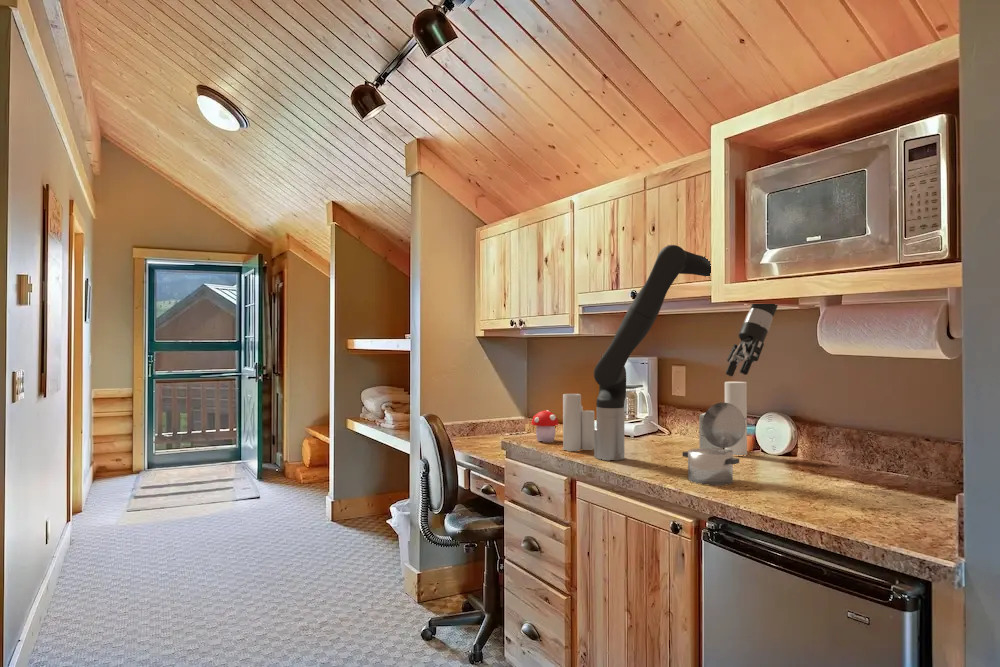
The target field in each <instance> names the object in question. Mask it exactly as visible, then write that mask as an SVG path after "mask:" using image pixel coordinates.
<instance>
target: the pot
mask: <svg viewBox="0 0 1000 667" xmlns="http://www.w3.org/2000/svg"><path fill="white" fill-rule="evenodd" d="M682 457H685V458H687V480H688V479H689V480H690V481H689V480H688V481H689V482H691V481H692V482H691V483H694V482H696V483H695V484H698V483H702V484H701V485H704V484H709V485H708V486H726V485H725V484H728V485H731V484H733V483H734V480H733V479H734V473H733V472H734V468H733V465H737V464H740V458H739V457H738V458H737V457H734V456H733V453H732V450H726V449H725V448H724V449H719V448H715V449H700V448H693V449H689V450H686V451H683V452H682ZM732 482H733V483H732ZM730 483H731V484H730Z"/></svg>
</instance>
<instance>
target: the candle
mask: <svg viewBox="0 0 1000 667" xmlns="http://www.w3.org/2000/svg"><path fill="white" fill-rule="evenodd" d="M594 429H596V428H595V411H594V410H584V406H583V405H582V394H580V393H564V394H562V450H563V451H564V450H567V451H566V452H571V451H575V452H579V451H578V450H581V449H583V450H593V449H594ZM583 450H581V451H583ZM593 451H594V450H593Z"/></svg>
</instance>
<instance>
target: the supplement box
mask: <svg viewBox="0 0 1000 667" xmlns="http://www.w3.org/2000/svg"><path fill="white" fill-rule="evenodd" d="M705 413H706V412H704V413H700V414H699V415H698V417H699V418H698V420H699V422H698V424H699V425H698V426H699V431H698V432H699V434H698V435H699V437H698V438H699V449H715V448H719V449H723V448H720V447H716V446H714V445H712V444H711V443H710V442H709V441H708V440H707V439H706V437H705V435H704V432H703V428H702V422H703V418H704V415H705Z"/></svg>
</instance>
